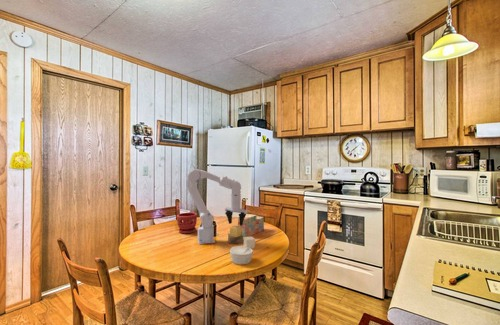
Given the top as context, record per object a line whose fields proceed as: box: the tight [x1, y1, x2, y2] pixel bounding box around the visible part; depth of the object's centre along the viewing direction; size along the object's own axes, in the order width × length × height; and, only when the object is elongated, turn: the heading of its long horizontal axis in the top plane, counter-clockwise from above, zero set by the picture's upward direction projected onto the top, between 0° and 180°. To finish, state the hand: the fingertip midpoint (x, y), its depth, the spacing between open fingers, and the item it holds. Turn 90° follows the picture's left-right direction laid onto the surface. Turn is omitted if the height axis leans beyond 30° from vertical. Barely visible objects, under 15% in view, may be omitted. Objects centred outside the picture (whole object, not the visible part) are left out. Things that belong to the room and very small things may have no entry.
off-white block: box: [243, 235, 256, 249], centre depth 139 cm, size 5×5×5 cm
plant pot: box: [176, 212, 198, 234], centre depth 166 cm, size 13×13×12 cm
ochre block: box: [229, 225, 242, 237], centre depth 148 cm, size 5×5×5 cm
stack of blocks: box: [237, 213, 265, 238], centre depth 165 cm, size 21×6×12 cm, turn 144°
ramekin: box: [229, 245, 254, 265], centre depth 120 cm, size 11×11×5 cm
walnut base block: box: [227, 233, 244, 245], centre depth 148 cm, size 8×8×4 cm
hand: (235, 224), depth 148 cm, fingers open, 7 cm apart
